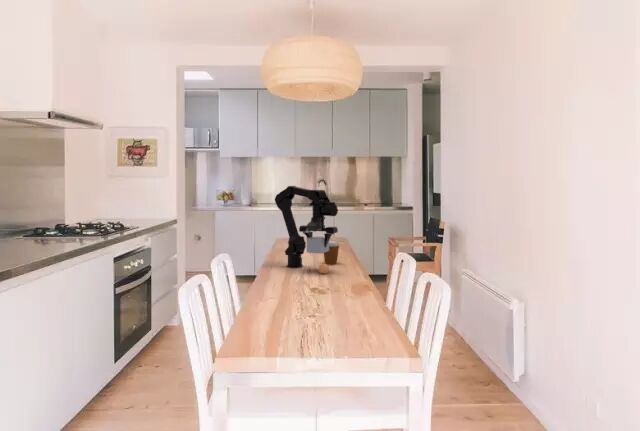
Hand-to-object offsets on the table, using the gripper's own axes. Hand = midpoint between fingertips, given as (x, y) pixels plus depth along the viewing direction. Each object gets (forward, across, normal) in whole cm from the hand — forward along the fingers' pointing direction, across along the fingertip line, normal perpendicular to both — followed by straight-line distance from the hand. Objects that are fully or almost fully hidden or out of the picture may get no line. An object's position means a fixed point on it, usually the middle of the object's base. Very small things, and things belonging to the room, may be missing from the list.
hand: (318, 246), depth 245 cm
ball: (+10, +6, -5) cm, 12 cm away
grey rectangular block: (+2, 0, 0) cm, 3 cm away
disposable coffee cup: (+12, -2, +21) cm, 25 cm away
